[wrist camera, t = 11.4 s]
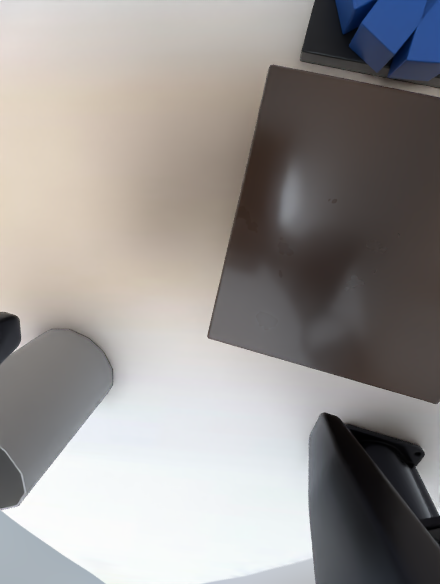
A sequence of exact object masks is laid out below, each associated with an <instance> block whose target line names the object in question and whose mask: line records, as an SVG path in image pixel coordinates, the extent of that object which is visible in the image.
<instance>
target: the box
mask: <svg viewBox="0 0 440 584" xmlns="http://www.w3.org/2000/svg"><path fill="white" fill-rule="evenodd" d="M207 337H208V338H209V339H213V340H216V341H220V342H223V343H227V344H230V345H233V346H237V347H240V348H244V349H247V350H251V351H254V352H258V353H261V354H265V355H268V356H271V357H275V358H278V359H282V360H285V361H289V362H292V363H296V364H299V365H303V366H306V367H310V368H313V369H316V370H320V371H323V372H327V373H330V374H334V375H337V376H341V377H344V378H348V379H351V380H354V381H358V382H361V383H365V384H368V385H372V386H375V387H379V388H382V389H386V390H389V391H392V392H396V393H399V394H403V395H406V396H410V397H413V398H417V399H420V400H424V401H427V402H431V403H434V404H438V403H439V401H440V97H434V96H429V95H424V94H419V93H414V92H409V91H404V90H399V89H394V88H389V87H384V86H379V85H374V84H369V83H364V82H359V81H354V80H349V79H344V78H338V77H333V76H328V75H323V74H318V73H313V72H308V71H303V70H298V69H293V68H288V67H283V66H278V65H270V67H269V70H268V74H267V78H266V83H265V87H264V92H263V96H262V100H261V105H260V109H259V113H258V118H257V122H256V126H255V131H254V135H253V139H252V144H251V148H250V152H249V157H248V161H247V165H246V170H245V174H244V179H243V183H242V187H241V192H240V196H239V200H238V205H237V209H236V213H235V218H234V222H233V226H232V231H231V235H230V239H229V244H228V248H227V252H226V257H225V261H224V266H223V270H222V274H221V279H220V283H219V287H218V292H217V296H216V300H215V305H214V309H213V313H212V318H211V322H210V326H209V331H208V335H207Z"/></svg>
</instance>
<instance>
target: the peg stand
mask: <svg viewBox="0 0 440 584" xmlns="http://www.w3.org/2000/svg"><path fill="white" fill-rule="evenodd" d="M358 28H359V27H357V28H355V29H353V30H351V31H350V32H348V33H346V34H343V33H342V29H341V24H340V20H339V15H338V11H337V6H336V2H335V0H315V2H314V6H313V10H312V13H311V17H310V21H309V25H308V29H307V32H306V36H305V40H304V44H303V48H302V52H301V56H300V61H304V62H309V63H314V64H320V65H325V66H330V67H335V68H340V69H345V70H350V71H356V72H361V73H366V74H371V75H376V76H381V77H386V78H388V73H389V70H390V67H391V63H392V60H393V57H394V56H393V57H392V58H391V59H390V60H389V61H388V63H387V64H386V65H385V66H384V67H383V68H382V69H381V70H380V71H379V72H378V73H376V72H375V71H374V70H373V69H372V68H371V67H370V66H369V65H368V64H367V63H366V62H365V61H364V60H363V59H361V58H360V57H359V56H358V55H357V54H356V53H355V52H354V51H353V50H352V49H351V48H350V47H349V44H350V42H351V41H352V39H353V37H354V35H355V33H356V32H357V30H358ZM391 79H396V78H391ZM397 80H402V81H407V82H412V83H417V84H422V85H427V86H432V87H438V88H440V74H439V75H437V76H435V77H434V78H432V79H431V80H429V81H419V80H408V79H397Z"/></svg>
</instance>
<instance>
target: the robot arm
mask: <svg viewBox="0 0 440 584" xmlns="http://www.w3.org/2000/svg"><path fill="white" fill-rule="evenodd" d="M20 342H21V331H20V320H19V318H18V317H17V316H16V315H13V314H10V313H7V312H0V364H1V363H2V362H3V361H4V360H5V359H6V358H7V357H8V356H9V355H10V354H11V353H12V352H13V351H14V350H15V349H16V348H17V347H18V346H19V344H20ZM424 455H425V453H424V451H423V449H422V448H421V447H420V446H418V445H415V444H411V443H408V442H405V441H401V440H398V439H395V438H392V437H388V436H385V435H382V434H378V433H375V432H372V431H369V430H365V429H362V428H359V427H355V426H352V425H344V423H343V422H342V421H341V419H340V418H339V417H337V416H335V415H331V414H328V413H322V414H321V415H320V416H319V418H318V420H317V422H316V424H315V426H314V428H313V430H312V432H311V434H310V438H309V489H308V496H309V516H310V528H311V539H312V550H313V561H314V572H315V583H316V584H440V516H439V514H438V512H437V510H436V508H435V506H434V504H433V502H432V499H431V497H430V495H429V493H428V491H427V489H426V487H425V485H424V483H423V481H422V479H421V477H420V475H419V473H418V471H417V469H416V466H417V464H418V463H419V462H420V461H421V459H422V458H423V457H424Z"/></svg>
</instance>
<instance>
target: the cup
mask: <svg viewBox="0 0 440 584" xmlns="http://www.w3.org/2000/svg"><path fill="white" fill-rule="evenodd" d="M112 385H113V381H112V368H111V366H110V364H109V362H108V360H107V358H106V356H105V354H104V352H103V351H102V350H101V349H100V348H99V347H98V346H96V345H95V344H94V343H93V342H92V341H91V340H90V339H89V338H87V337H85V336H83V335H81V334H78V333H76V332H74V331H72V330H68V329H51V330H49V331H47V332H45V333H43V334H42V335H40V336H38V337H36V338H35V339H33V340H32V341H30V342H29V343H27V344H26V345H24V346H23V347H21V348H20V349H18V350H17V351H15V352H14V353H12V354H11V355H9V356H8V357H7V358H6V359H5V360H4V361H3V362H2V363H1V364H0V510H4V509H8V508H12V507H17V506H19V505H20V503H21V502H22V501H23V500H24V498H25V497H26V496H27V495H28V493H29V492H30V491H31V490H32V488H33V487H34V486H35V484H36V483H37V482H38V481H39V479H40V478H41V477H42V476H43V474H44V473H45V472H46V471H47V469H48V468H49V467H50V465H51V464H52V463H53V462H54V460H55V459H56V458H57V457H58V455H59V454H60V453H61V452H62V450H63V449H64V448H65V446H66V445H67V444H68V443H69V441H70V440H71V439H72V438H73V436H74V435H75V434H76V433H77V431H78V430H79V429H80V427H81V426H82V425H83V424H84V422H85V421H86V420H87V419H88V417H89V416H90V415H91V414H92V412H93V411H94V410H95V408H96V407H97V406H98V405H99V403H100V402H101V401H102V400H103V398H104V397H105V396H106V394H107V393H108V391H109V390H110V388H111V387H112Z"/></svg>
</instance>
